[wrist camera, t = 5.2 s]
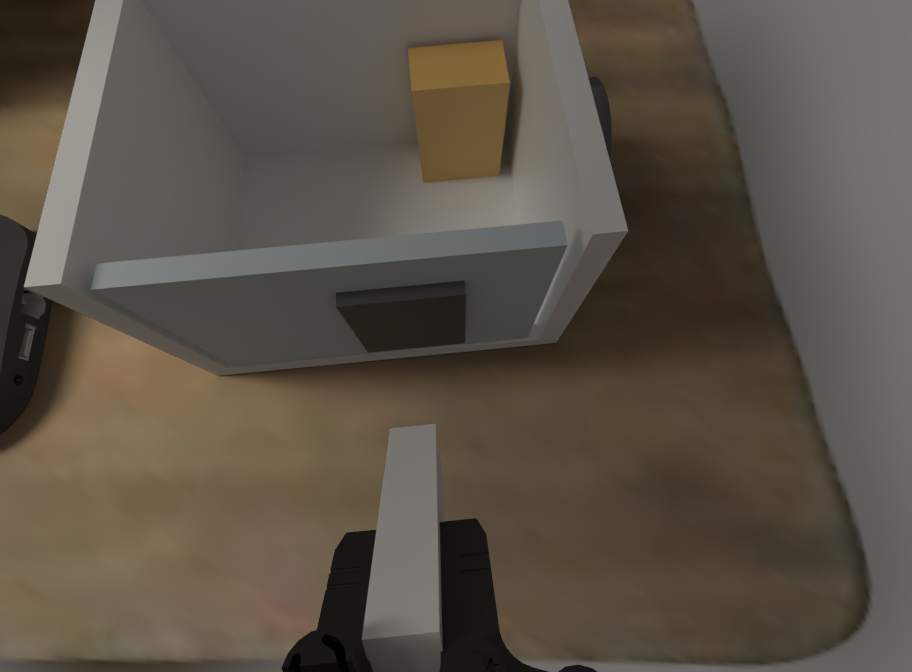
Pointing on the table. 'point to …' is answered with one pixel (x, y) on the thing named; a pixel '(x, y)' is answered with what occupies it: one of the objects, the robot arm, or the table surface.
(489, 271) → the side door
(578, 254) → the open box
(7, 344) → the media streaming box
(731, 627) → the table surface
